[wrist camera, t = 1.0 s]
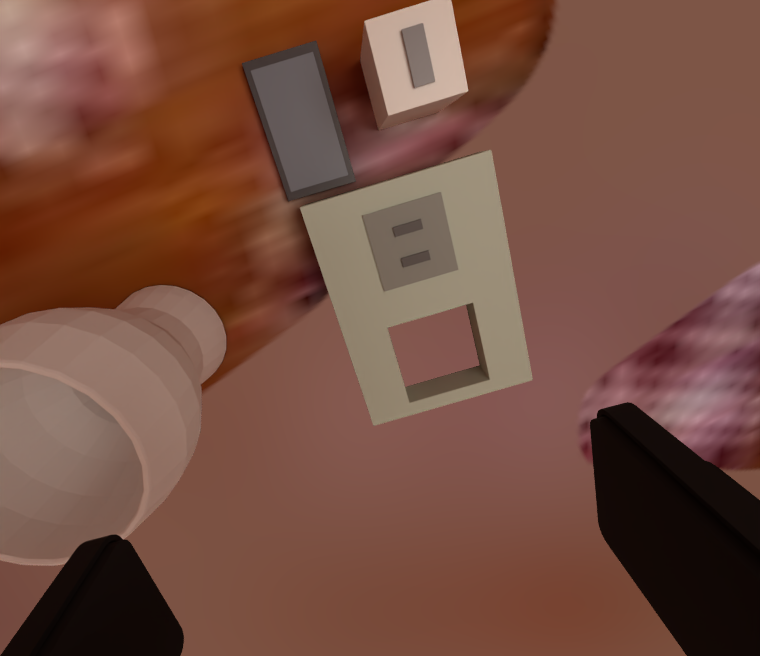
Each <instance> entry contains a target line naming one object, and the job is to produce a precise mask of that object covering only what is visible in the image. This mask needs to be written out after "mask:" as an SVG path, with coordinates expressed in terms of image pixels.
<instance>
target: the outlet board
mask: <svg viewBox="0 0 760 656" xmlns="http://www.w3.org/2000/svg"><path fill="white" fill-rule="evenodd" d="M300 210H301V213H302V216H303V219H304V222H305V225H306V228H307V231H308V234H309V237H310V239H311V242H312V245H313V248H314V251H315V254H316V257H317V260H318V263H319V266H320V269H321V272H322V275H323V278H324V281H325V284H326V287H327V290H328V293H329V296H330V299H331V302H332V304H333V307H334V311H335V313H336V316H337V319H338V322H339V325H340V328H341V331H342V334H343V337H344V340H345V343H346V346H347V349H348V352H349V355H350V358H351V361H352V364H353V367H354V370H355V373H356V375H357V378H358V382H359V384H360V387H361V390H362V393H363V396H364V399H365V402H366V405H367V408H368V411H369V414H370V417H371V420H372V423H373V425H374V426H375V425H378V424H382V423H385V422H389V421H392V420H395V419H399V418H403V417H406V416H410V415H413V414H416V413H420V412H424V411H427V410H430V409H434V408H437V407H441V406H444V405H448V404H451V403H455V402H458V401H461V400H465V399H469V398H472V397H476V396H479V395H483V394H486V393H490V392H493V391H496V390H500V389H503V388H507V387H510V386H514V385H517V384H521V383H524V382H528V381H531V380H533V379H532V373H531V368H530V362H529V357H528V351H527V346H526V341H525V335H524V329H523V323H522V318H521V312H520V307H519V301H518V296H517V290H516V285H515V280H514V274H513V268H512V263H511V257H510V251H509V246H508V240H507V235H506V229H505V224H504V219H503V213H502V208H501V202H500V196H499V191H498V185H497V180H496V174H495V168H494V163H493V157H492V152H491V150H487V151H482V152H478V153H475V154H471V155H468V156H465V157H461V158H458V159H455V160H452V161H448V162H445V163H441V164H438V165H435V166H432V167H428V168H425V169H422V170H418V171H415V172H412V173H408V174H405V175H402V176H399V177H395V178H392V179H389V180H385V181H382V182H379V183H375V184H372V185H369V186H366V187H362V188H359V189H356V190H352V191H349V192H346V193H342V194H339V195H336V196H333V197H329V198H326V199H323V200H319V201H316V202H313V203H309V204H306V205H303V206H302V207H300ZM463 305H466V306H467V310H468V315H469V319H470V324H471V328H472V332H473V337H474V341H475V346H476V350H477V355H478V359H479V364H480V366H476V367H473V368H469V369H466V370H462V371H459V372H455V373H452V374H449V375H445V376H442V377H438V378H435V379H431V380H428V381H425V382H421V383H418V384H414V385H411V386H408V387H405V385H404V382H403V378H402V375H401V371H400V368H399V365H398V361H397V358H396V355H395V351H394V348H393V345H392V341H391V338H390V335H389V331H388V327H392V326H395V325H398V324H402V323H405V322H408V321H412V320H415V319H419V318H422V317H425V316H429V315H432V314H436V313H439V312H442V311H446V310H449V309H453V308H456V307H460V306H463Z"/></svg>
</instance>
